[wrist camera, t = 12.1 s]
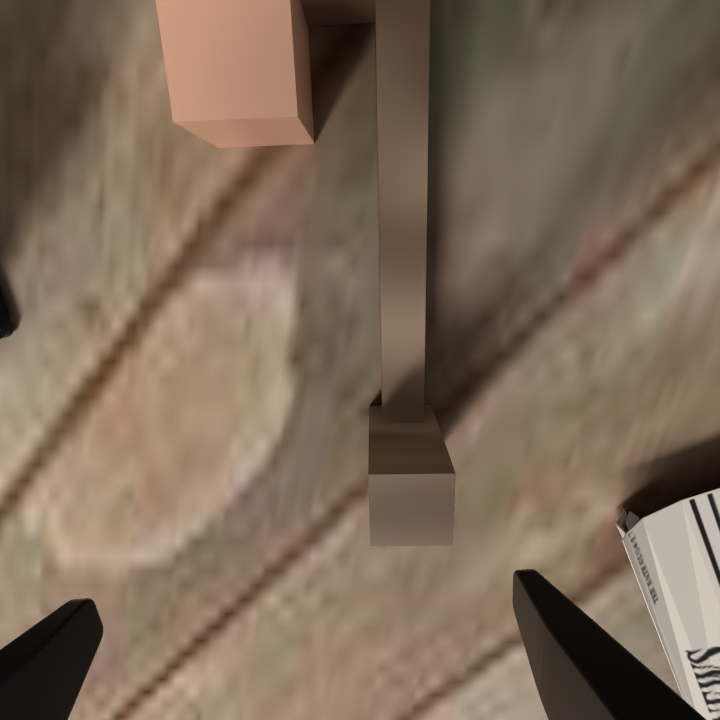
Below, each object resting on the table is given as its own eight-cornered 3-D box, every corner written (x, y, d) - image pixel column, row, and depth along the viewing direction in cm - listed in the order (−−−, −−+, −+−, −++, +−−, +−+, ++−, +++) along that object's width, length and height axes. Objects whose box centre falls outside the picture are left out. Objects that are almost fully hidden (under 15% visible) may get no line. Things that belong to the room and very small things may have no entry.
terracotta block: (314, 144, 17) (297, 116, 13) (218, 148, 17) (173, 121, 13) (308, 27, 15) (287, -41, 12) (204, 32, 16) (150, -34, 12)
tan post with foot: (430, 459, 21) (452, 545, 15) (285, 461, 21) (252, 546, 15) (440, -41, 15) (484, -219, 9) (238, -29, 15) (154, -195, 9)
